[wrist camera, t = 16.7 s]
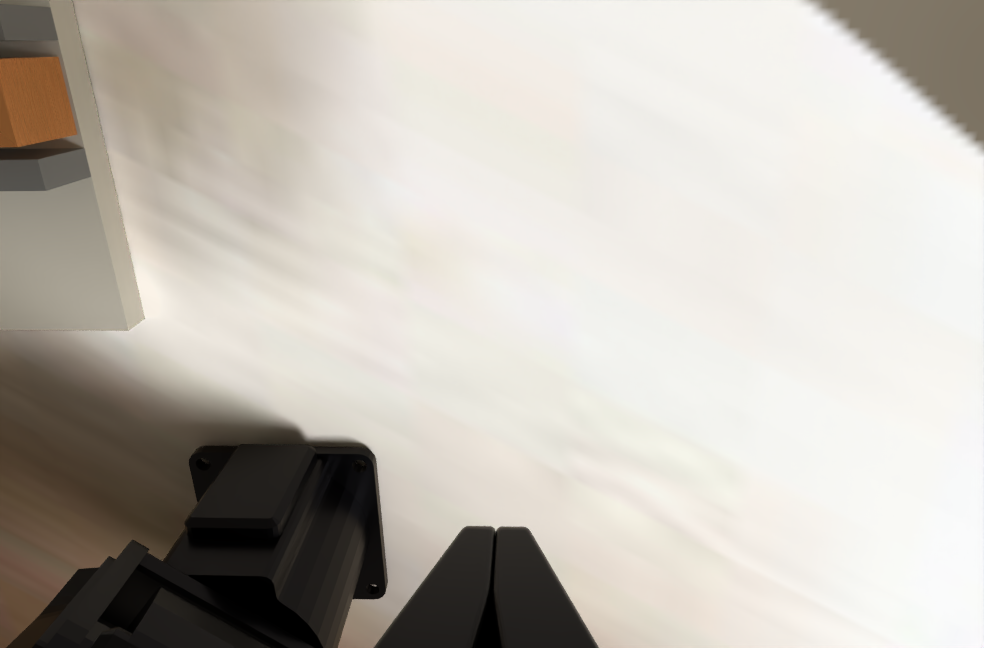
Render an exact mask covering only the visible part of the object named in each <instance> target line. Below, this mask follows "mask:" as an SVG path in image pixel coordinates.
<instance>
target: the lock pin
mask: <svg viewBox="0 0 984 648" xmlns="http://www.w3.org/2000/svg"><path fill="white" fill-rule="evenodd" d="M73 135H77V131H76V126H75V122H74V118H73V114H72V110H71V106H70V102H69V98H68V94H67V90H66V85H65V81H64V77H63V73H62V69H61V65H60V61H59V57H12V58H0V147H21V146H26V145H31V144H35V143H40V142H45V141H50V140H54V139H59V138H64V137H69V136H73Z"/></svg>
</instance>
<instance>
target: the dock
mask: <svg viewBox="0 0 984 648" xmlns="http://www.w3.org/2000/svg"><path fill="white" fill-rule="evenodd" d="M12 57H59V61H60V65H61V69H62V73H63V77H64V81H65V85H66V90H67V94H68V98H69V102H70V106H71V110H72V114H73V118H74V122H75V126H76V131H77V135H73V136H69V137H64V138H59V139H54V140H50V141H45V142H40V143H35V144H31V145H26V146H21V147H0V330H101V331H129V330H130V329H131V328H133V327H134V326H135V325H137V324H138V323H140V322H141V321H142V320H144V319H145V316H144V312H143V308H142V303H141V299H140V295H139V290H138V286H137V282H136V277H135V273H134V269H133V264H132V260H131V256H130V251H129V247H128V243H127V238H126V234H125V229H124V225H123V221H122V216H121V212H120V208H119V203H118V199H117V195H116V190H115V186H114V182H113V177H112V173H111V169H110V164H109V160H108V156H107V151H106V147H105V142H104V138H103V134H102V129H101V125H100V121H99V116H98V112H97V108H96V103H95V99H94V95H93V90H92V86H91V82H90V77H89V73H88V69H87V64H86V60H85V55H84V51H83V47H82V42H81V38H80V34H79V29H78V25H77V21H76V16H75V12H74V8H73V3H72V0H0V58H12Z"/></svg>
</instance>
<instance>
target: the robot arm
mask: <svg viewBox="0 0 984 648" xmlns="http://www.w3.org/2000/svg"><path fill="white" fill-rule="evenodd" d="M201 458H203V459H206V460H208V461H209V463H210V464H207V463H205V462H203V461H202V459H201ZM356 460H361V461H364V462H365V463H366V465H364V466H361V465H358V464H357V463H356V462H355V461H356ZM189 466H190V470H191V475H192V479H193V484H194V488H195V493H196V497H197V502H198V503H197V505H196V506H195V508H194V509H193V510H192V512H191V513H190V515H189V516H188V518H187V519H186V520H185V530H184V531H183V532H182V534H181V535H180V537H179V538H178V540H177V541H176V543H175V544H174V545H173V547H172V548H171V550H170V551H169V553H168V554H167V556H166V557H165V559H164V560H163V561H161V560H159V559H158V558H156V557H154V556H152V555H151V554H149V553H147V552H148V551H149V549H148V548H146V547H145V546H143V545H141V544H139V543H138V542H136V541H134V540H132V541H131V542H130V543H129V544H128V545H127V547H126V548H125V549H124V550H123V552H122V553H121V554H120V555H119V556H118V558H117V559H114V558H112V557H110V556H109V557H108V558H107V559H106V560H105V561H104V563H103V564H102V565H101V566H100V567H99V568H86V569H78V570H77V572H76V573H75V574H74V575H73V576H72V578H71V579H70V580H69V581H68V582H67V584H66V585H65V586H64V587H63V588H62V590H61V591H60V592H59V593H58V594H57V595H56V597H55V598H54V599H53V600H52V601H51V603H50V604H49V605H48V606H47V607H46V608H45V609H44V611H43V612H42V613H41V614H40V615H39V616H38V617H37V618H36V619H35V620H34V621H33V622H32V623H31V624H30V625H29V626H28V627H27V628H26V629H25V630H24V631H23V632H22V633H21V634H20V635H19V636H18V637H17V638H16V639H15V640H14V641H13V642H11V643H10V644H9V645H8V646H7V647H6V648H338V645H339V641H340V638H341V635H342V631H343V628H344V625H345V622H346V618H347V615H348V612H349V608H350V605H351V602H352V599H379V598H381V597H383V595H384V594H385V592H386V588H387V583H388V579H387V568H386V558H385V547H384V537H383V526H382V516H381V505H380V495H379V484H378V474H377V463H376V458H375V455H374V454H373V453H372V452H371V451H370V450H368V449H366V448H361V447H312V446H309V445H262V444H242V445H240V446H202V447H199V448H198V449H196V451H195V452H194V453H193V454H192V456H191V457H190V459H189ZM370 584H375V585H377V586H376V587H375V586H372V585H370ZM374 648H599V647H598V645H597V644H596V642H595V640H594V639H593V637H592V635H591V634H590V632H589V630H588V628H587V627H586V625H585V623H584V622H583V620H582V618H581V617H580V615H579V613H578V611H577V610H576V608H575V606H574V605H573V603H572V601H571V600H570V598H569V596H568V594H567V593H566V591H565V589H564V588H563V586H562V584H561V583H560V581H559V579H558V577H557V576H556V574H555V572H554V571H553V569H552V567H551V566H550V564H549V562H548V560H547V559H546V557H545V555H544V554H543V552H542V550H541V549H540V547H539V545H538V544H537V542H536V540H535V538H534V537H533V535H532V533H531V532H530V530H529V529H528V528H526V527H499V528H498V529H497V531H495V529H494V528H493V527H491V526H466V527H464V528H463V529H462V530H461V531H460V533H459V534H458V535H457V537H456V538H455V539H454V541H453V542H452V543H451V545H450V546H449V547H448V549H447V550H446V551H445V553H444V554H443V556H442V557H441V558H440V560H439V561H438V562H437V564H436V565H435V566H434V568H433V569H432V570H431V572H430V573H429V574H428V576H427V577H426V578H425V580H424V581H423V582H422V584H421V585H420V586H419V588H418V589H417V590H416V592H415V593H414V594H413V596H412V597H411V598H410V600H409V601H408V602H407V604H406V605H405V606H404V608H403V609H402V610H401V612H400V613H399V614H398V616H397V617H396V618H395V620H394V621H393V622H392V624H391V625H390V626H389V628H388V629H387V630H386V632H385V633H384V635H383V636H382V637H381V639H380V640H379V641H378V643H377V644H376V645H375V647H374Z"/></svg>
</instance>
